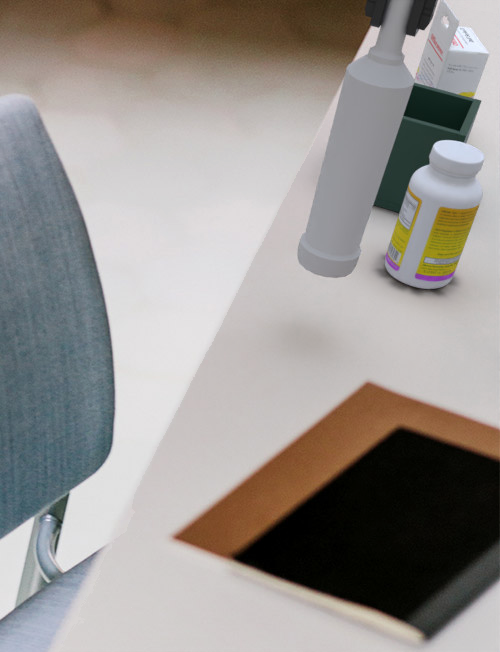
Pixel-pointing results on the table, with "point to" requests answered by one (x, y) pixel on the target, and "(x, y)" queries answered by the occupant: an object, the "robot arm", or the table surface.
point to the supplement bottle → (436, 216)
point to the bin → (423, 137)
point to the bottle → (358, 149)
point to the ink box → (451, 56)
